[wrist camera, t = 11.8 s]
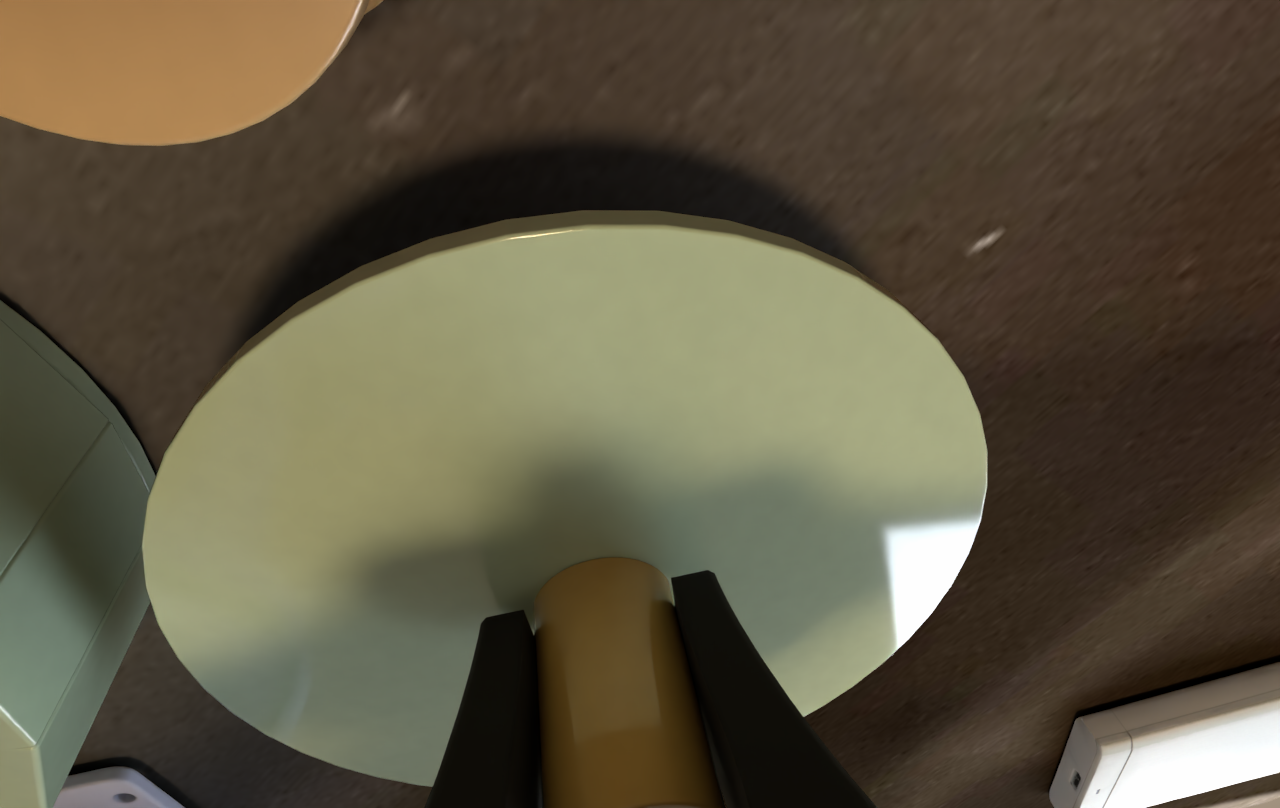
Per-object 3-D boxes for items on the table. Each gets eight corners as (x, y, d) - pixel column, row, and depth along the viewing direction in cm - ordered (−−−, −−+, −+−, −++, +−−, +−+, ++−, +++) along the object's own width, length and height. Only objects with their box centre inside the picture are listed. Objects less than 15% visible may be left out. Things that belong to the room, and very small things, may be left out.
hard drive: (1442, 660, 25) (1106, 755, 25) (1349, 758, 30) (1070, 835, 30) (1395, 621, 26) (1076, 711, 26) (1313, 721, 31) (1046, 795, 31)
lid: (907, 670, 17) (1024, 897, 13) (363, 792, 17) (324, 1069, 13) (1034, 101, 9) (1445, 279, 5) (-67, 303, 8) (-571, 692, 4)
